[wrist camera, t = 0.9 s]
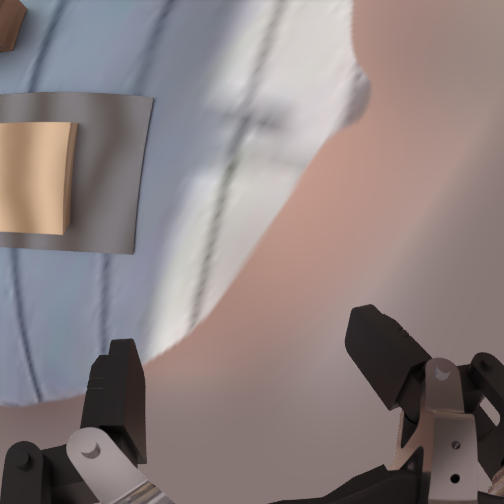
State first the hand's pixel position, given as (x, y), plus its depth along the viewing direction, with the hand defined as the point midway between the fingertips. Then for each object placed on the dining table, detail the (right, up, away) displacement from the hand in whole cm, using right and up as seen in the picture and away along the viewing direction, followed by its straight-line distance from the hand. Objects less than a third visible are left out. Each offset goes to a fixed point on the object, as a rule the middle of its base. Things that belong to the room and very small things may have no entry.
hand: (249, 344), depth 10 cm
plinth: (-22, +11, +13) cm, 28 cm away
